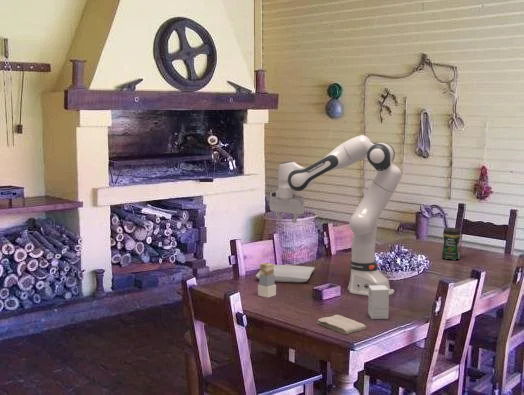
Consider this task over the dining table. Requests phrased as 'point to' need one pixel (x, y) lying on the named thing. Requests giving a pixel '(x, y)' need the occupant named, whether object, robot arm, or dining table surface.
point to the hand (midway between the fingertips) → (286, 221)
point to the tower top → (267, 280)
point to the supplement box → (378, 302)
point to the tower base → (267, 291)
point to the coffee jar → (451, 243)
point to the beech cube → (266, 269)
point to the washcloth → (341, 324)
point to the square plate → (291, 273)
